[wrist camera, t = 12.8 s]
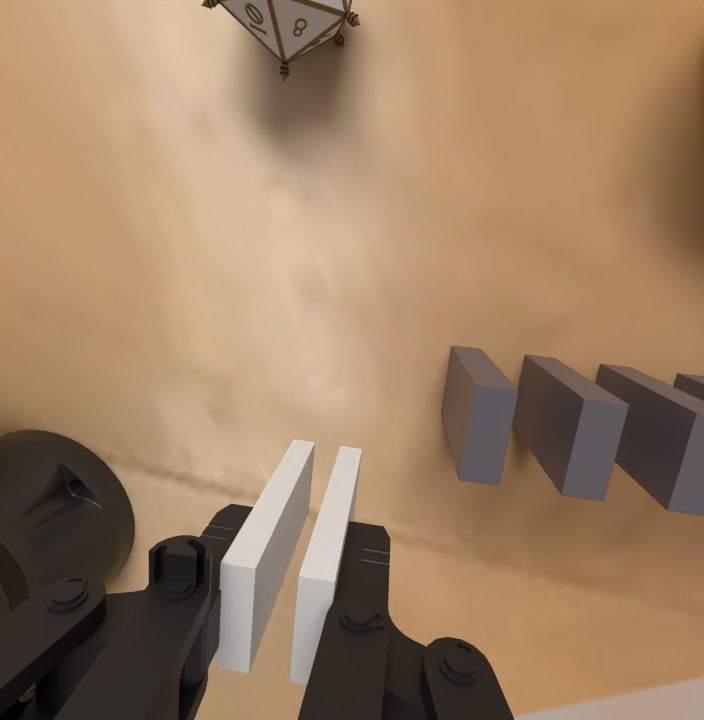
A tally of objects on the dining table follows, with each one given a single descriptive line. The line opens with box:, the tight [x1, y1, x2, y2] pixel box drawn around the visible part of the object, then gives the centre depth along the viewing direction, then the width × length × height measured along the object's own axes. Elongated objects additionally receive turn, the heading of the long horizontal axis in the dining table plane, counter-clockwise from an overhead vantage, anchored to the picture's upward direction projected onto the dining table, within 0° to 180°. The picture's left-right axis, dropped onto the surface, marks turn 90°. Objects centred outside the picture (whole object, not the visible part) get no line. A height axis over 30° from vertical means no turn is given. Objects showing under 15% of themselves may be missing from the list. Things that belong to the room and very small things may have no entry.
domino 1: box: [441, 346, 519, 486], centre depth 26 cm, size 2×5×10 cm, turn 174°
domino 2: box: [512, 355, 629, 501], centre depth 26 cm, size 2×5×10 cm, turn 174°
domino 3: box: [596, 364, 704, 516], centre depth 25 cm, size 2×5×10 cm, turn 174°
